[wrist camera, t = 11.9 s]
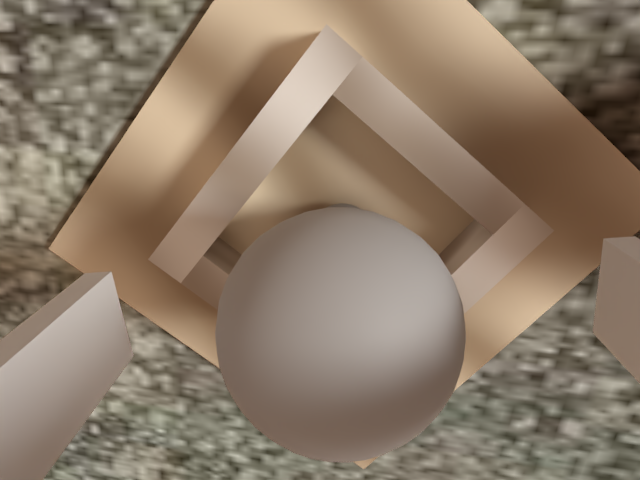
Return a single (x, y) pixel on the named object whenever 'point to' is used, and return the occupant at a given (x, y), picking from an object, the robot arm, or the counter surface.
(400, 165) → the socket base
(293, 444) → the lightbulb
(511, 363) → the counter surface
